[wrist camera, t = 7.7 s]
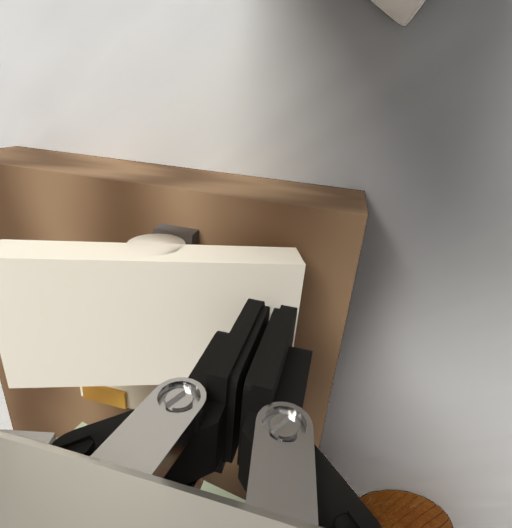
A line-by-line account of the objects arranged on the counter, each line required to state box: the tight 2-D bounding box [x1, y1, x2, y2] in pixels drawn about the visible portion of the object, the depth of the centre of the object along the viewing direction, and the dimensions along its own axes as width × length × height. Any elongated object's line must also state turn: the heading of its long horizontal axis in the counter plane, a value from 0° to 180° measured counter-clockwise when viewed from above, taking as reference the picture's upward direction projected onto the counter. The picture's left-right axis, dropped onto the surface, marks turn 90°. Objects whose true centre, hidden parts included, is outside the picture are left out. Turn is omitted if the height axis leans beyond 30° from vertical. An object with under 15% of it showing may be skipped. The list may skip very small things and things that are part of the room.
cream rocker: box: [0, 234, 306, 388], centre depth 14 cm, size 10×5×2 cm, turn 86°
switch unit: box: [0, 146, 368, 500], centre depth 20 cm, size 18×20×5 cm
